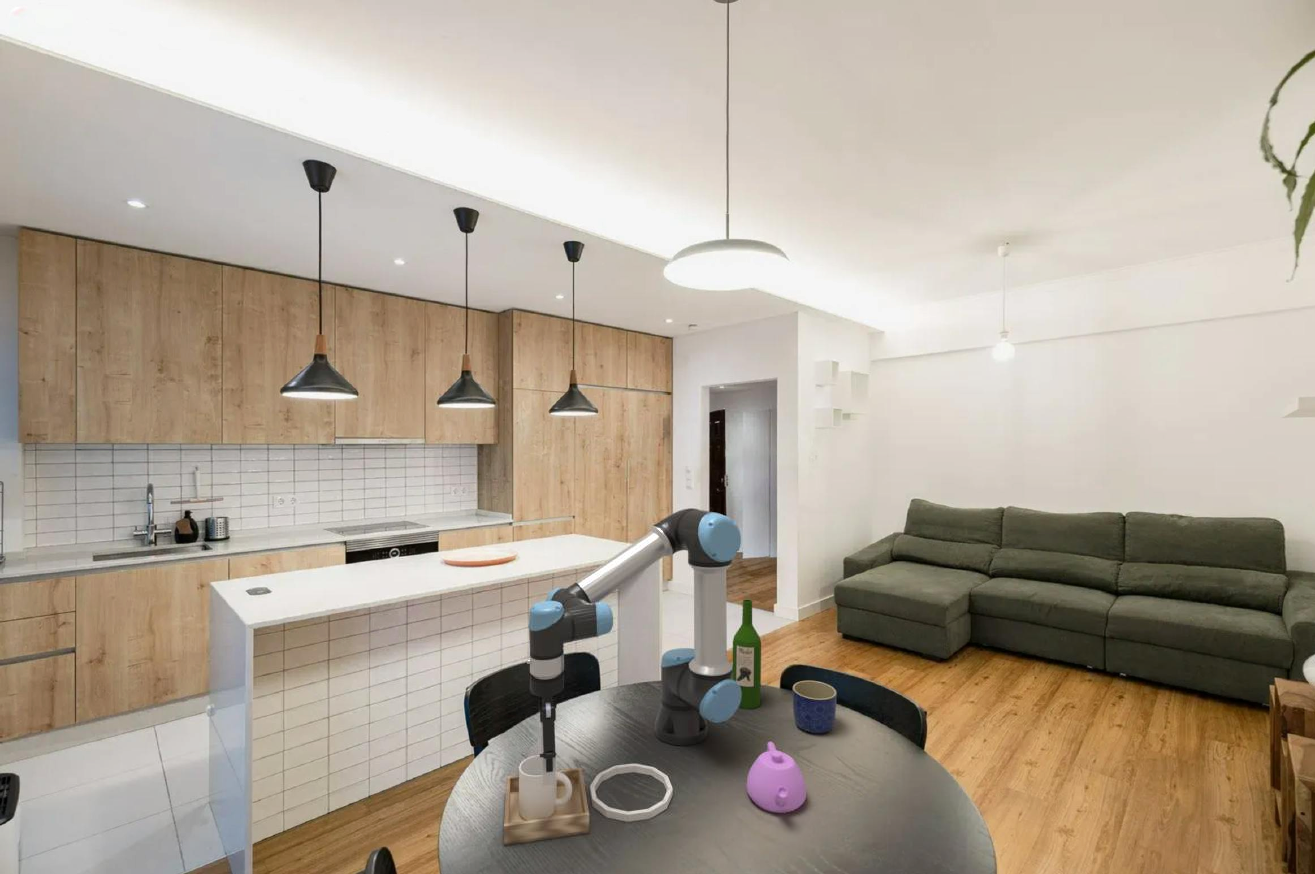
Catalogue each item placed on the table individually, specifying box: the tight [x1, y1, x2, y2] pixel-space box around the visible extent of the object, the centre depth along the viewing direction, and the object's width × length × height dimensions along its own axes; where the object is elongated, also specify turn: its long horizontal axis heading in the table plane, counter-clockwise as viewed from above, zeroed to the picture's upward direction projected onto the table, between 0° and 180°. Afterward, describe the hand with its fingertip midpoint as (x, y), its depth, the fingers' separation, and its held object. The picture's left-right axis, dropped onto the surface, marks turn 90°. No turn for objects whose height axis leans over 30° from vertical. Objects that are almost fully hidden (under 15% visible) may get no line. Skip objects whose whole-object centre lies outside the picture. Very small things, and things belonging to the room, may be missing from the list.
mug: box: [518, 754, 572, 821], centre depth 130 cm, size 12×8×10 cm
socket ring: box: [589, 763, 674, 823], centre depth 138 cm, size 19×19×2 cm
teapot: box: [746, 741, 807, 814], centre depth 136 cm, size 14×20×11 cm
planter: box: [792, 680, 838, 734], centre depth 170 cm, size 12×12×11 cm
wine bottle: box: [732, 598, 762, 710], centre depth 184 cm, size 9×9×32 cm
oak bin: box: [503, 767, 590, 846], centre depth 131 cm, size 18×18×4 cm
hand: (548, 765), depth 131 cm, fingers open, 13 cm apart
